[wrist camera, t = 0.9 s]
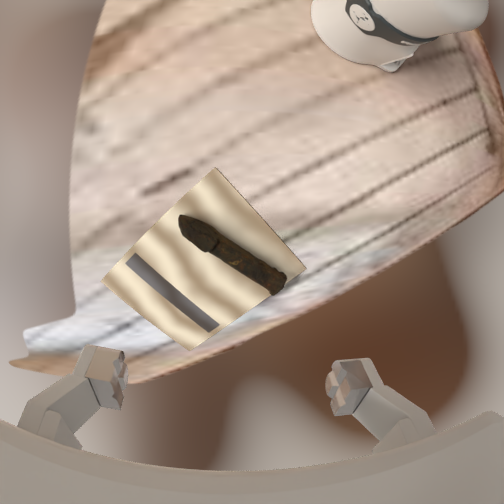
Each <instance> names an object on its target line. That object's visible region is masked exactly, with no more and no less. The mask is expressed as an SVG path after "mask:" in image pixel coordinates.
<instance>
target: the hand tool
mask: <svg viewBox="0 0 504 504" xmlns="http://www.w3.org/2000/svg"><path fill="white" fill-rule="evenodd" d="M178 226H179V228H180V231H181V233H182V236H183V237H185V238H186V239H187V240H189V241H190V242H191V243H193V244H194V245H195V246H196V247H197V248H198V249H200V250H201V251H203V252H205V253H206V252H209V253H210V254H212V255H214V256H216V257H217V258H219V259H221V260H222V261H223V262H225V263H226V264H228V265H229V266H231V267H232V268H234V269H235V270H237V271H238V272H240V273H241V274H243V275H245V276H246V277H248V278H249V279H251V280H252V281H254V282H256V283H258V284H259V285H261V286H263V287H264V288H266V289H267V290H268V291H269V293H270V294H271V295H272V296H273V295H275V294H277V293H278V292H279V291H280V290H282V289H283V287H284V285H285V283H286V281H287V276H286V274H285V273H284V272H279V271H278V270H277V269H276V268H275V267H274V268H272V267H271V266H269V265H268V264H267V263H266V262H264V261H262V260H261V259H258V258H257V257H255V256H254V255H252V254H251V253H250V252H249V251H246V250H245V249H243V248H242V247H240V246H239V245H237V244H236V243H234V242H233V241H231V240H229V239H228V238H226V237H225V236H223V235H222V234H220V233H219V232H218V231H217V230H216V229H215V228H214V227H213V226H211V225H209V224H207V223H205V222H203V221H200V220H197V219H195V218H192V217H189V216H186V215H182V214H181V215H179V217H178Z"/></svg>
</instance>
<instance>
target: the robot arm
mask: <svg viewBox="0 0 504 504" xmlns="http://www.w3.org/2000/svg"><path fill="white" fill-rule="evenodd" d="M487 13H488V0H313V2H312V6H311V18H312V22H313V25H314V28H315V30H316V32H317V33H318V35H319V37H320V38H321V39H322V41H323V42H324V43H325V44H326V45H327V46H328V47H329V48H330V49H331V50H333V51H334V52H335V53H337V54H338V55H340V56H341V57H343V58H345V59H347V60H350V61H353V62H356V63H360V64H370V65H375V66H377V67H379V68H381V69H382V70H384V71H387V72H394V71H396V70H397V69H398V68H399V67H400V66H401V65H402V63H403V62H404V61H405V60H406V59H407V58H409V57H412V56H413V55H414V53H413V52H415V51H416V50H417V48H418V47H419V46H420V45H422V44H426V43H428V42H430V41H433V40H435V39H437V38H438V37H439V36H441V35H447V34H452V33H458V32H464V31H470V30H473V29H475V28H477V27H478V26H480V25H481V24H482V23H483V21H484V20H485V18H486V16H487ZM394 62H395V63H394ZM124 359H125V355H124V352H123V351H121V350H115V349H110V348H105V347H100V346H94V345H89V344H87V345H86V346H84V348H83V350H82V353H81V355H80V357H79V359H78V362H77V364H76V366H75V368H74V371H73V373H72V374H67V375H66V376H65V377H63V378H62V379H60V380H59V381H57V382H56V383H54V384H53V385H51V386H50V387H48V388H47V389H45V390H44V391H42V392H41V393H39V394H38V395H36V396H35V397H33V398H32V399H30V400H29V401H28V402H27V404H26V406H25V408H24V411H23V413H22V416H21V418H20V421H19V423H18V426H15V425H12V424H10V423H8V422H6V421H4V420H2V419H0V504H504V417H502V416H501V415H499V414H497V413H495V412H493V411H487V412H484V413H482V414H480V415H478V416H476V417H474V418H472V419H470V420H468V421H466V422H463V423H461V424H459V425H457V426H454V427H452V428H450V429H447V430H445V431H442V432H440V433H436V431H435V429H434V427H433V425H432V423H431V421H430V419H429V417H428V415H427V413H426V412H425V411H423V410H422V409H421V408H419V407H418V406H416V405H415V404H413V403H412V402H410V401H409V400H407V399H406V398H404V397H403V396H402V395H400V394H399V393H397V392H396V391H394V390H393V389H391V388H390V387H388V386H384V384H383V382H382V381H381V378H380V377H379V375H378V373H377V371H376V369H375V367H374V365H373V363H372V361H371V360H370V359H369V358H362V359H349V360H336V361H335V362H334V363H333V365H332V369H333V371H331V372H330V373H329V374H328V376H327V378H326V384H325V386H326V392H327V395H328V396H329V397H331V398H332V401H331V403H330V404H331V407H332V410H333V413H334V416H340V415H348V414H353V416H354V417H355V418H356V419H357V420H358V421H360V423H361V424H363V425H364V426H365V427H366V428H367V429H368V430H369V431H370V432H371V433H372V434H373V435H374V436H375V437H376V438H377V439H378V440H379V441H380V442H379V443H378V444H377V445H376V446H375V447H374V448H373V450H372V452H373V454H371V455H367V456H362V457H358V458H353V459H349V460H344V461H339V462H333V463H327V464H321V465H314V466H306V467H298V468H288V469H276V470H259V471H209V470H192V469H180V468H170V467H162V466H154V465H148V464H141V463H136V462H130V461H125V460H120V459H115V458H111V457H107V456H102V455H98V454H94V453H91V452H87V451H83V450H81V449H82V445H81V444H80V442H79V441H78V440H77V438H76V437H75V436H74V433H75V432H76V431H77V430H78V429H79V428H80V427H81V426H82V425H83V424H84V423H85V422H86V421H87V420H88V419H89V418H90V417H91V416H93V414H95V412H97V411H98V410H99V409H100V406H101V407H106V408H111V409H117V410H121V406H122V402H123V398H124V396H123V392H122V390H124V389H125V388H126V386H127V382H128V368H127V365H126V364H125V363H124Z"/></svg>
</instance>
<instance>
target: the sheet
mask: <svg viewBox="0 0 504 504" xmlns="http://www.w3.org/2000/svg"><path fill="white" fill-rule="evenodd" d="M181 214H182V215H186V216H189V217H192V218H195V219H197V220H200V221H203V222H205V223H207V224H209V225H211V226H213V227H214V228H215V229H216V230H217V231H218V232H219V233H220V234H222V235H223V236H225V237H226V238H228V239H229V240H231V241H233V242H234V243H236V244H237V245H239V246H240V247H242V248H243V249H245V250H246V251H249V252H250V253H251V254H252V255H254V256H255V257H257V258H258V259H261V260H262V261H264V262H266V263H267V264H268V265H269V266H271V267H272V268H274V267H275V268H276V269H277V270H278V271H279V272H284V273H285V274H286V276H287V281H286V283H288V282H289V281H291V280H292V279H293V278H295V277H296V276H297V275H299V274H300V273H301V272H303V271H304V270H305V269H306V268H305V266H304V265H303V264H302V263H301V262H300V261H299V260H298V258H297V257H296V256H295V255H294V254H293V253H292V252H291V250H290V249H289V248H288V247H287V246H286V245H285V244H284V243H283V241H282V240H281V239H280V238H279V237H278V236H277V235H276V234H275V232H274V231H273V230H272V229H271V228H270V227H269V226H268V225H267V223H266V222H265V221H264V220H263V219H262V218H261V217H260V216H259V215H258V213H257V212H256V211H255V210H254V209H253V208H252V207H251V206H250V205H249V204H248V202H247V201H246V200H245V199H244V198H243V197H242V196H241V195H240V194H239V193H238V191H237V190H236V189H235V188H234V187H233V186H232V185H231V184H230V183H229V182H228V181H227V180H226V178H225V177H224V176H223V175H222V174H221V173H220V172H219V171H218V170H217V169H216V168H214V169H213V170H212V171H211V172H210V173H208V174H207V175H206V176H205V177H204V178H203V179H202V180H201V181H199V182H198V183H197V184H196V185H195V186H194V187H193V188H192V189H191V190H190V191H189V192H187V193H186V194H185V195H184V196H183V197H182V198H181V199H180V200H179V201H178V202H177V203H176V204H175V205H174V206H173V207H172V208H171V209H170V210H168V211H167V212H166V213H165V214H164V215H163V216H162V217H161V218H160V219H159V220H158V221H157V222H156V223H155V224H154V225H153V226H152V227H151V228H150V229H149V230H148V231H147V232H146V233H145V234H144V235H143V236H142V237H141V238H140V239H139V240H138V241H137V242H136V243H135V245H134V246H133V247H132V248H131V249H130V250H129V251H128V252H127V253H126V254H125V255H124V256H123V257H122V258H121V259H120V260H119V261H118V263H117V264H116V265H115V266H114V267H113V268H112V269H111V270H110V271H109V272H108V274H107V275H106V276H105V277H104V278H103V279H102V280H101V282H102V283H103V284H104V285H105V286H107V287H108V288H109V289H110V290H111V291H112V292H114V293H115V294H116V295H117V296H118V297H119V298H121V299H122V300H123V301H124V302H125V303H127V304H128V305H129V306H130V307H132V308H133V309H134V310H135V311H137V312H138V313H139V314H140V315H142V316H143V317H144V318H145V319H147V320H148V321H149V322H151V323H152V324H153V325H154V326H156V327H157V328H158V329H160V330H161V331H162V332H164V333H165V334H166V335H168V336H169V337H170V338H172V339H173V340H175V341H176V342H177V343H179V344H180V345H182V346H183V347H184V348H186V349H187V350H189V351H190V350H192V349H193V348H195V347H196V346H198V345H199V344H201V343H202V342H204V341H205V340H207V339H208V338H210V337H211V336H213V335H214V334H216V333H217V332H219V331H220V330H222V329H223V328H224V327H226V326H227V325H229V324H230V323H232V322H233V321H235V320H236V319H237V318H239V317H240V316H242V315H243V314H245V313H246V312H247V311H249V310H250V309H252V308H253V307H255V306H256V305H257V304H259V303H260V302H262V301H263V300H264V299H266V298H267V297H269V296H270V295H271V294H270V293H269V291H268V290H267V289H266V288H264V287H263V286H261V285H259V284H258V283H256V282H254V281H252V280H251V279H249V278H248V277H246V276H245V275H243V274H241V273H240V272H238V271H237V270H235V269H234V268H232V267H231V266H229V265H228V264H226V263H225V262H223V261H222V260H221V259H219V258H217V257H216V256H214V255H212V254H210V253H209V252H206V253H205V252H203V251H201V250H200V249H198V248H197V247H196V246H195V245H194V244H193V243H191V242H190V241H189V240H187V239H186V238H185V237H183V236H182V233H181V231H180V228H179V226H178V217H179V215H181ZM286 283H285V284H286Z"/></svg>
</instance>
